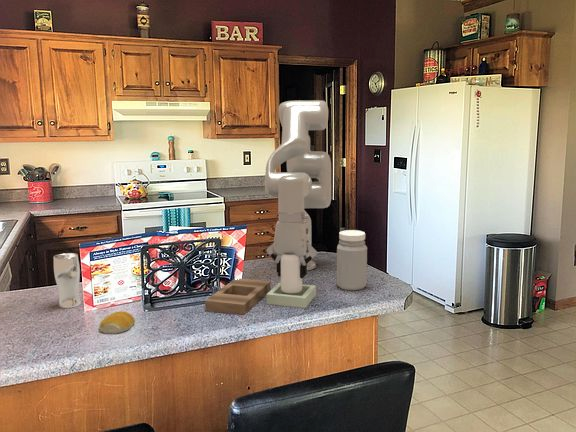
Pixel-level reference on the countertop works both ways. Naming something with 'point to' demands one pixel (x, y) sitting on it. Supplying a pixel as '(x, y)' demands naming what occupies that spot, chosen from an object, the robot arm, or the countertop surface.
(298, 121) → the robot arm
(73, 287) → the beer glass
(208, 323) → the countertop surface
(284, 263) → the can
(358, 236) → the jar
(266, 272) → the countertop surface
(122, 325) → the bread roll
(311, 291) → the sage holder
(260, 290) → the walnut holder
